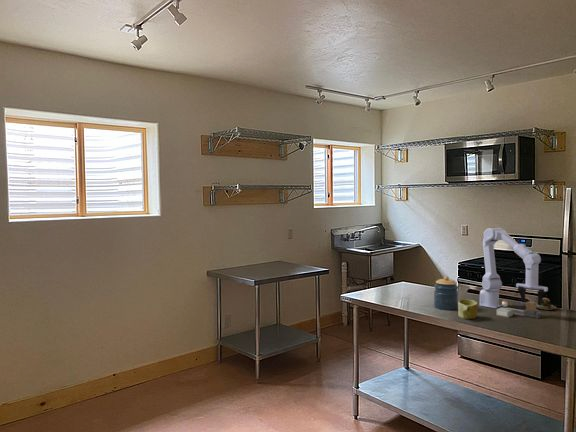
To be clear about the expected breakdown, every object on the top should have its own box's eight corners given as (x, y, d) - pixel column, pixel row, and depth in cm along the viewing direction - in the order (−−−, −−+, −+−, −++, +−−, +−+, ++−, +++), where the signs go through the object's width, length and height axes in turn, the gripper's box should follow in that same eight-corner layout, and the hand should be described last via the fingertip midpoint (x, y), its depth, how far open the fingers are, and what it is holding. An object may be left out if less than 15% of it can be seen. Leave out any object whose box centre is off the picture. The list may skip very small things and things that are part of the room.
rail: (501, 311, 243) (501, 307, 243) (505, 310, 247) (505, 305, 246) (537, 318, 230) (537, 313, 230) (541, 316, 233) (541, 311, 233)
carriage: (523, 315, 234) (523, 302, 234) (528, 313, 238) (528, 300, 238) (534, 317, 231) (534, 304, 230) (538, 315, 235) (538, 302, 234)
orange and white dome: (501, 305, 236) (501, 301, 236) (503, 304, 238) (503, 300, 238) (506, 306, 235) (506, 301, 234) (508, 305, 236) (508, 301, 236)
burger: (527, 307, 254) (527, 294, 253) (542, 305, 258) (543, 292, 257) (546, 312, 242) (546, 298, 242) (562, 310, 247) (562, 296, 246)
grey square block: (496, 315, 237) (496, 309, 237) (501, 313, 241) (501, 307, 241) (508, 317, 232) (508, 311, 232) (512, 315, 236) (513, 309, 236)
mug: (459, 309, 242) (463, 293, 238) (477, 318, 236) (483, 302, 232) (449, 318, 233) (454, 302, 229) (468, 327, 227) (474, 311, 223)
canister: (460, 310, 246) (460, 278, 245) (435, 309, 248) (435, 277, 248) (456, 305, 259) (456, 274, 258) (432, 304, 261) (432, 273, 260)
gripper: (514, 276, 236) (513, 302, 237) (544, 279, 225) (543, 306, 226) (519, 274, 241) (519, 299, 242) (549, 277, 230) (549, 304, 231)
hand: (531, 303), depth 234 cm, fingers open, 7 cm apart
